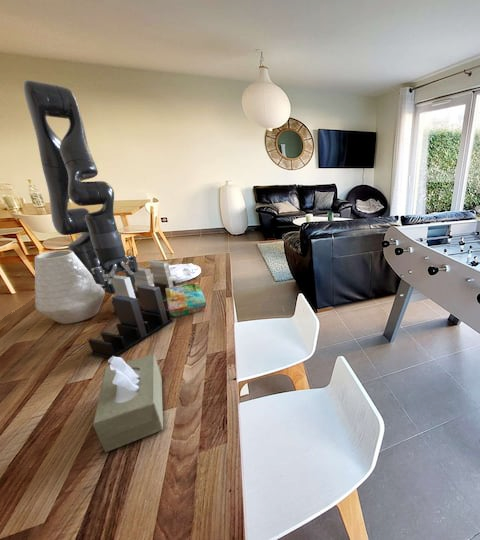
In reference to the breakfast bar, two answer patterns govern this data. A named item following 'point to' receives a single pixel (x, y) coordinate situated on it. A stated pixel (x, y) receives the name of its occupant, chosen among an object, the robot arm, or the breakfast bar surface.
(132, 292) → the white book
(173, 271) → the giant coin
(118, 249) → the robot arm
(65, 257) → the vase
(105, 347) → the grey rack
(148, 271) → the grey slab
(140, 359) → the tissue box
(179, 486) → the breakfast bar surface
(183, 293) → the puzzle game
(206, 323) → the breakfast bar surface
